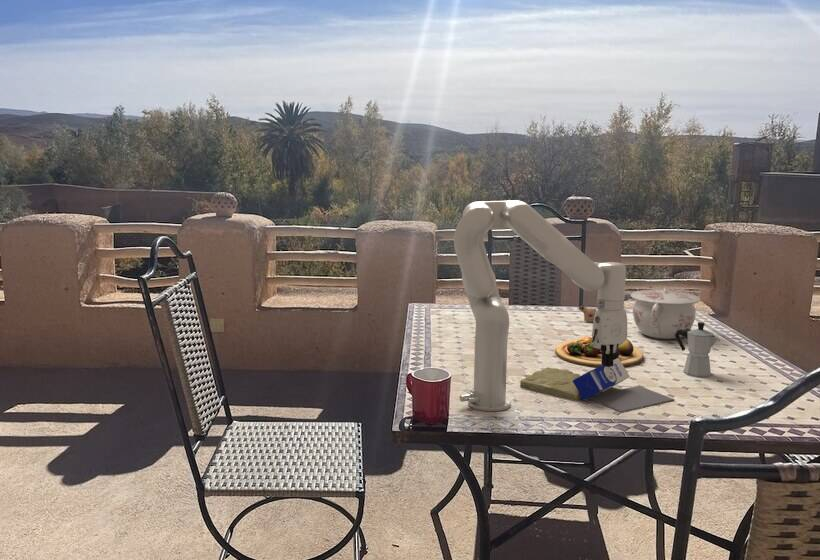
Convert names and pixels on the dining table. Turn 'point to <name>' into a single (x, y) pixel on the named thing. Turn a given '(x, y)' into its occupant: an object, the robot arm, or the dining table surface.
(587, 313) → the oil lamp
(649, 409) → the dining table surface
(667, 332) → the chamber pot
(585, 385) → the milk carton
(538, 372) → the decorative tile
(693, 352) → the coffee maker
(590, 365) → the wooden plate with food
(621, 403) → the mat
